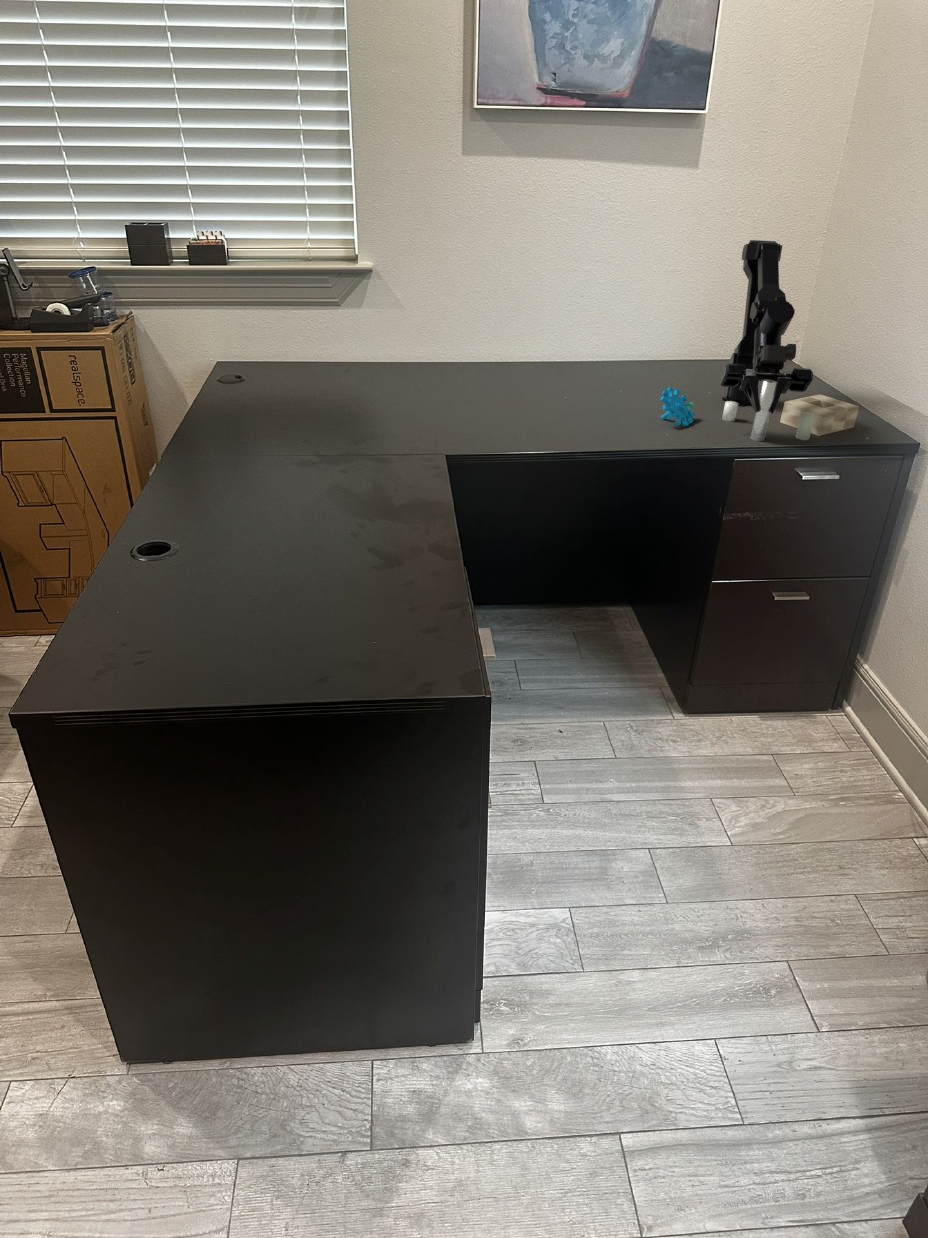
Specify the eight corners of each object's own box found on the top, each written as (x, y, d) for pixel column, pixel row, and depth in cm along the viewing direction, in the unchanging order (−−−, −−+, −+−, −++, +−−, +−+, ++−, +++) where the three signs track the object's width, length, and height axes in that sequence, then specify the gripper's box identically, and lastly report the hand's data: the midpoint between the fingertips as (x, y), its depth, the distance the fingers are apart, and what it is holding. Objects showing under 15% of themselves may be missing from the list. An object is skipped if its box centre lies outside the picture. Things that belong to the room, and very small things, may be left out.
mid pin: (792, 436, 190) (798, 413, 187) (801, 434, 192) (807, 411, 189) (803, 440, 188) (809, 417, 185) (812, 438, 189) (818, 415, 187)
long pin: (747, 437, 189) (759, 380, 182) (756, 435, 190) (769, 378, 183) (758, 441, 186) (770, 383, 180) (767, 439, 188) (780, 382, 181)
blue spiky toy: (675, 424, 190) (659, 385, 192) (656, 437, 195) (641, 399, 196) (704, 422, 197) (688, 385, 198) (686, 435, 201) (670, 398, 203)
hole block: (779, 422, 199) (784, 401, 196) (814, 414, 205) (819, 394, 203) (818, 435, 191) (824, 414, 189) (853, 427, 197) (859, 406, 195)
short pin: (719, 418, 200) (722, 402, 198) (728, 416, 202) (731, 400, 200) (729, 422, 198) (732, 405, 196) (737, 420, 200) (740, 403, 197)
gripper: (733, 325, 180) (729, 390, 177) (822, 331, 178) (820, 396, 175) (722, 353, 191) (718, 415, 188) (805, 359, 189) (803, 421, 186)
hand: (764, 412), depth 184 cm, fingers closed on long pin, 3 cm apart
